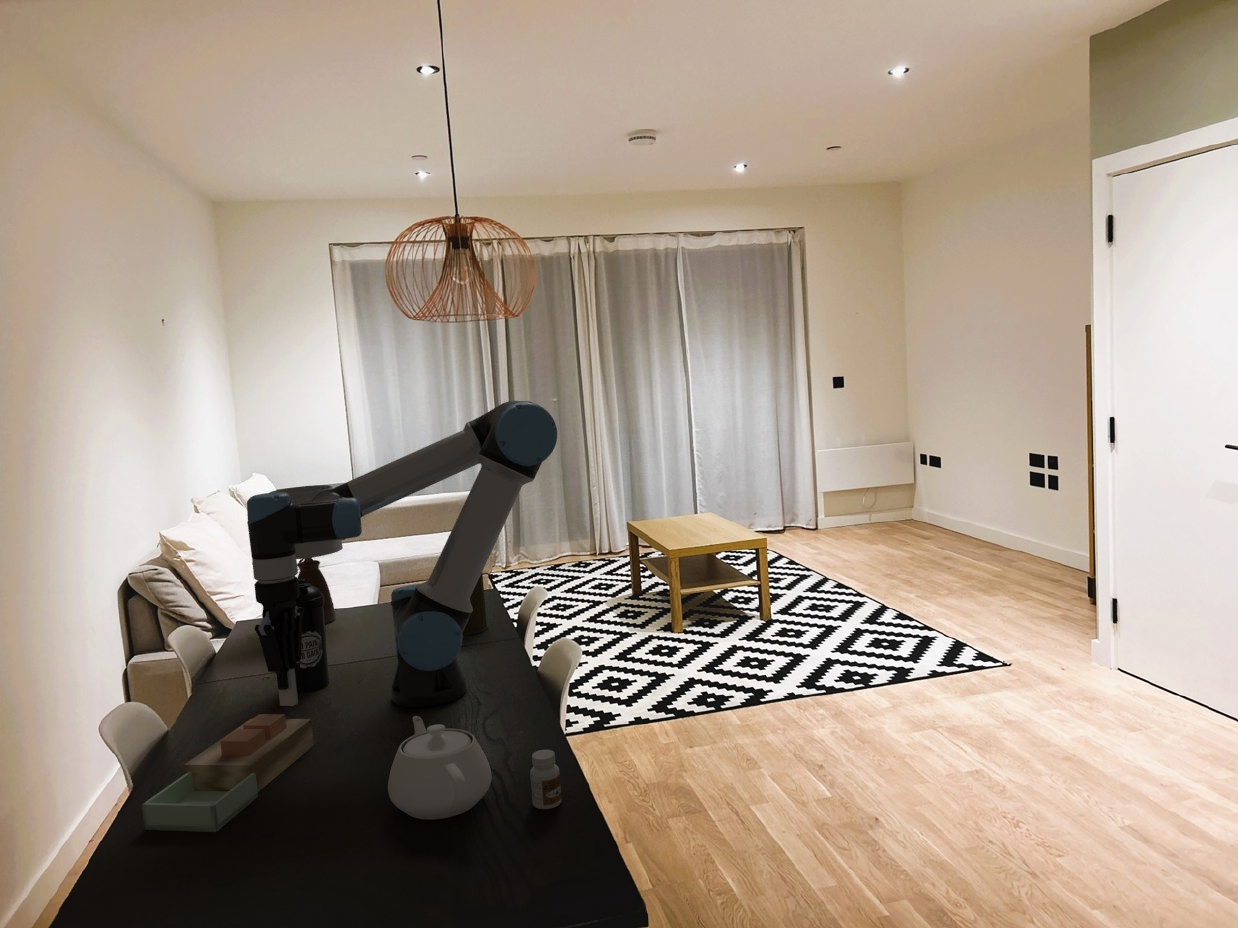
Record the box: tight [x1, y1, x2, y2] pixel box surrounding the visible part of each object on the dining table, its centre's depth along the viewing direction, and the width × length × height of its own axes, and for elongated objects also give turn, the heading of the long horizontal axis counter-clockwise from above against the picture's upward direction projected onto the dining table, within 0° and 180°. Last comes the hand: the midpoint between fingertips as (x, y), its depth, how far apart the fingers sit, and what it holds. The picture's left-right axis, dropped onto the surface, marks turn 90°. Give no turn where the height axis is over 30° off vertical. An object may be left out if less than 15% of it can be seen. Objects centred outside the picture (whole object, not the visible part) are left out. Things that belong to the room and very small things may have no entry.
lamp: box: [268, 484, 344, 625], centre depth 251 cm, size 19×19×37 cm
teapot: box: [387, 715, 492, 821], centre depth 140 cm, size 25×16×12 cm, turn 27°
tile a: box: [242, 713, 287, 740], centre depth 160 cm, size 5×5×2 cm
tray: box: [141, 772, 259, 833], centre depth 142 cm, size 12×11×4 cm
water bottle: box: [294, 579, 330, 694], centre depth 198 cm, size 10×10×23 cm
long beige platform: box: [183, 718, 315, 793], centre depth 157 cm, size 12×19×5 cm, turn 170°
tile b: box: [220, 728, 266, 756], centre depth 153 cm, size 5×5×2 cm
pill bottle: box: [529, 749, 562, 810], centre depth 137 cm, size 4×4×8 cm
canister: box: [462, 572, 489, 637], centre depth 233 cm, size 11×10×20 cm
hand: (289, 703), depth 168 cm, fingers closed
